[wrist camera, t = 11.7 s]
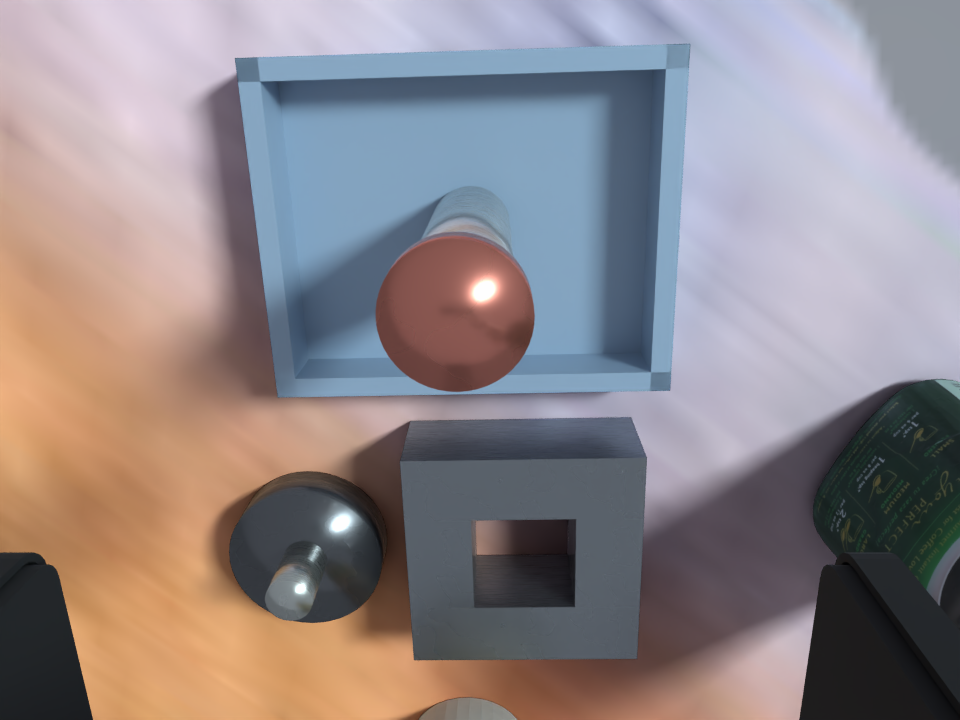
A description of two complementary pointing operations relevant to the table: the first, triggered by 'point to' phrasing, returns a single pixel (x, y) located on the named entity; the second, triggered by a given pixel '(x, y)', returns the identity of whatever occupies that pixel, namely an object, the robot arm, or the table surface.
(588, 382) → the tray
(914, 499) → the coffee jar
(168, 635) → the table surface
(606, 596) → the block
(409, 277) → the lock pin
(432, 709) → the coffee cup
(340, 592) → the dark knobbed lid
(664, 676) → the table surface
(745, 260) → the table surface
